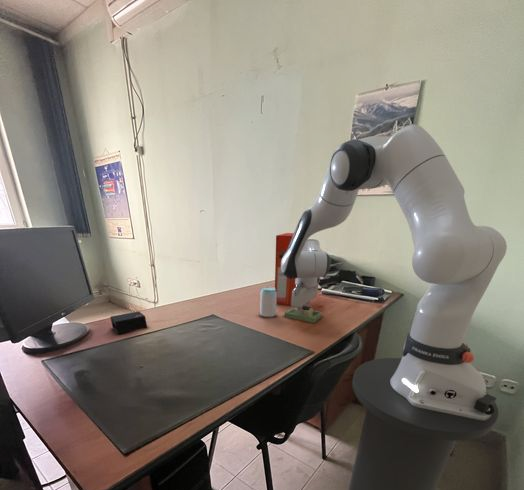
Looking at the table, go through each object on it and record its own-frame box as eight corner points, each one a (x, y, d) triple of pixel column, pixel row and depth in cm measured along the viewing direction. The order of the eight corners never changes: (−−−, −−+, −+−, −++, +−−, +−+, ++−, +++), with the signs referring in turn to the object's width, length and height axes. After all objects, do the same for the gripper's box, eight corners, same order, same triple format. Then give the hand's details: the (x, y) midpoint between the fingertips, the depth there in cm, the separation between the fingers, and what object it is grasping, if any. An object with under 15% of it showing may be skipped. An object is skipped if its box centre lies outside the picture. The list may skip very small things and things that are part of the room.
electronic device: (112, 328, 110) (110, 316, 107) (141, 322, 116) (138, 311, 113) (118, 334, 104) (115, 322, 102) (147, 328, 110) (145, 316, 108)
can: (277, 317, 124) (278, 290, 118) (261, 318, 123) (261, 290, 118) (274, 312, 130) (275, 286, 125) (259, 312, 129) (259, 286, 124)
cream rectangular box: (312, 315, 126) (313, 306, 124) (308, 318, 122) (309, 309, 120) (298, 312, 129) (298, 304, 127) (293, 315, 125) (293, 307, 123)
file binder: (273, 303, 142) (276, 235, 128) (283, 295, 157) (286, 232, 143) (289, 305, 140) (293, 235, 126) (297, 296, 154) (301, 233, 140)
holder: (321, 316, 126) (322, 312, 125) (313, 323, 119) (314, 318, 118) (293, 311, 132) (294, 307, 131) (284, 316, 125) (284, 312, 124)
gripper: (303, 286, 109) (300, 320, 115) (321, 277, 125) (318, 307, 131) (288, 284, 112) (286, 317, 118) (308, 275, 128) (305, 305, 134)
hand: (303, 312), depth 125 cm, fingers closed on cream rectangular box, 5 cm apart
